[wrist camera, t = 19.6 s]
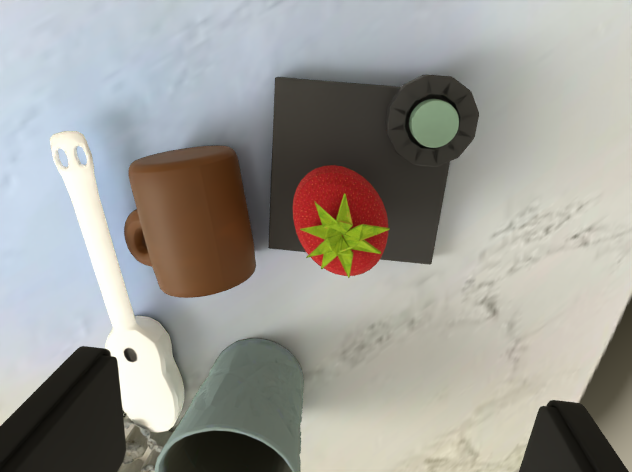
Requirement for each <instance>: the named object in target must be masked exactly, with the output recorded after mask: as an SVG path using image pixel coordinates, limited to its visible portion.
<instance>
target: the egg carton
mask: <svg viewBox="0 0 632 472" xmlns="http://www.w3.org/2000/svg"><path fill="white" fill-rule="evenodd" d="M123 420H124V429H125V439H126V454H125V458H124V460H123V463H122V465H121V467H120V468H119V470H118V472H155V465H156V462H157V458H158V456H159V454H160V452H161V451H162V449H163V447H164V446H165V444H166V443H167V441H168V440H169V438H170V437H171V435H172V434H173V432H169V431H164V432H150V431H149V430H148V429H144V428H143V427H141V426H139V425H138V424H135V423H134V422H133V421H131V419H130V418H129V417H128V416H127V415H126V417H125V418H124V417H123ZM138 426H139V427H138Z"/></svg>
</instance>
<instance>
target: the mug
mask: <svg viewBox="0 0 632 472" xmlns="http://www.w3.org/2000/svg"><path fill="white" fill-rule="evenodd" d="M129 179H130V184H131V188H132V192H133V196H134V199H135V203H136V207H137V209H136V210H134V211H133V212H132V213H131V214H130V215H129V216H128V218H127V220H126V222H125V227H124V235H125V240H126V243H127V246H128V249H129V250H130V252H131V254H132V255H133V256H134V257H135V259H136V260H137V261H139V262H141V263H143V264H144V265H148V266H152V267H153V270H154V273H155V275H156V278H157V281H158V284H159V286H160V289H161V290H162V291H163V292H164V293H166V294H168V295H170V296H174V297H184V298H188V297H201V296H207V295H212V294H216V293H219V292H222V291H226V290H228V289H231V288H233V287H235V286H237V285H239V284H241V283H243V282H244V281H246V280H247V279H248V278H249V277H250V276H251V275H252V274H253V273H254V271H255V268H256V262H255V252H254V242H253V236H252V231H251V225H250V220H249V214H248V208H247V203H246V198H245V193H244V188H243V183H242V177H241V172H240V166H239V162H238V158H237V155H236V153H235V151H234V150H233V149H232V148H230V147H228V146H201V147H192V148H185V149H178V150H173V151H167V152H162V153H158V154H154V155H150V156H146V157H143V158H140V159H138V160H136V161H134V162H133V163H132V164H131V165H130V167H129Z"/></svg>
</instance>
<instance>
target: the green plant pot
mask: <svg viewBox="0 0 632 472" xmlns="http://www.w3.org/2000/svg"><path fill="white" fill-rule="evenodd" d="M303 387H304V379H303V373H302V369H301V367H300V365H299V362H298V361H297V360H296V358H295V357H294V356H293V355H292V354H291V353H290V351H288V350H287V349H286V348H284V347H283V346H281V345H279V344H277V343H275V342H272V341H269V340H265V339H245V340H241V341H237V342H235V343H233V344H232V345H230V346H229V347H227V348H226V349H225V350H223V352H222V353H221V354H220V355H219V357H218V359H217V360H216V362H215V363H214V365H213V367H212V368H211V370H210V372H209V377H208V378H207V379H206V380H205V381H204V383H203V384H202V385H201V387H200V389H199V391H198V392H197V393H196V395H195V397H194V398H193V400H192V403H191V405H190V407H189V408H188V410H187V411H186V413H185V415H184V417H183V418H182V420H181V421H180V423H179V425H178V426H177V428H176V429H175V431H174V432H173V434H172V435H171V437H170V438H169V440H168V441H167V443H166V444H165V446H164V447H163V449H162V451H161V452H160V454H159V456H158V458H157V462H156V465H155V472H300V456H299V454H300V451H301V438H300V436H301V432H300V423H301V420H302V417H301V414H302V408H303V407H302V404H303Z"/></svg>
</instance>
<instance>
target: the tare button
mask: <svg viewBox="0 0 632 472" xmlns="http://www.w3.org/2000/svg"><path fill="white" fill-rule="evenodd" d="M458 127H459V117H458V114H457V112H456V110H455V108H454V107H453V106H452V105H451V104H449V103H447V102H445V101H442V100H439V99H428V100H425V101H423V102H421V103H419V104H418V105H417V106H416V107H415V108H414V110H413V111H412V113H411V115H410V119H409V128H410V131H411V133H412V135H413V137H414V138H415V139H416V140H417V141H418V142H419V143H420V144H422V145H423V146H426V147H430V148H437V147H441V146H444V145H446V144H447V143H449V142H450V141H451V140H452V139H453V138H454V136H455V135H456V133H457V130H458Z"/></svg>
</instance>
